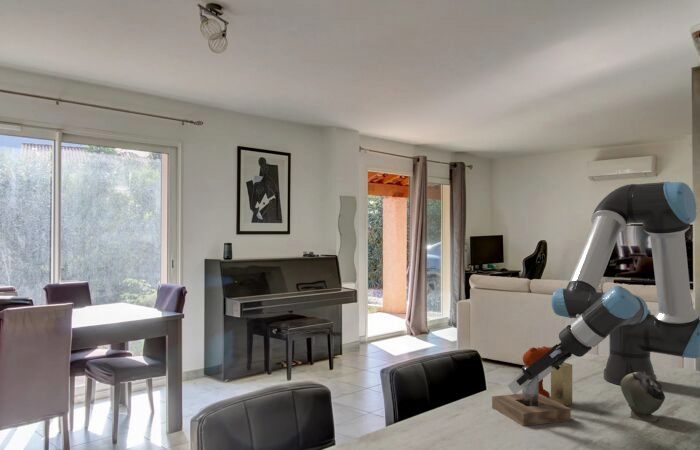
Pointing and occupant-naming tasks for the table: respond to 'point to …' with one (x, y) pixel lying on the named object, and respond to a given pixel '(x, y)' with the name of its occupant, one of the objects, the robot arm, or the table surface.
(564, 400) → the light brown rectangular block
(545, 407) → the socket block
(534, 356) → the toy drill
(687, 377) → the table surface
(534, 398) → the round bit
